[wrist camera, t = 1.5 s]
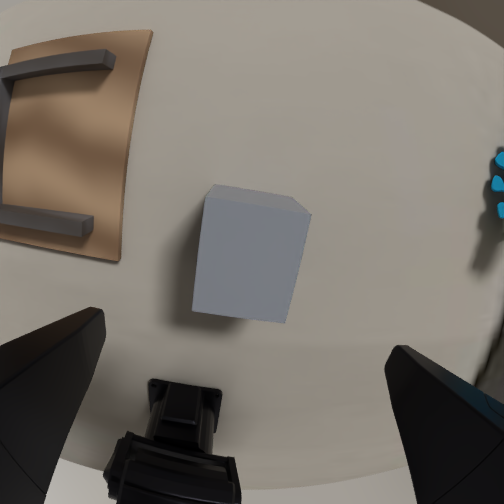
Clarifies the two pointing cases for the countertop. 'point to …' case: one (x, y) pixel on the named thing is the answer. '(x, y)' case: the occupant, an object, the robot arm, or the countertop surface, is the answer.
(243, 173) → the countertop surface
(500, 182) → the blue splash shape
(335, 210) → the countertop surface
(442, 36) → the countertop surface
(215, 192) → the block
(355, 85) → the countertop surface
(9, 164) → the dock
